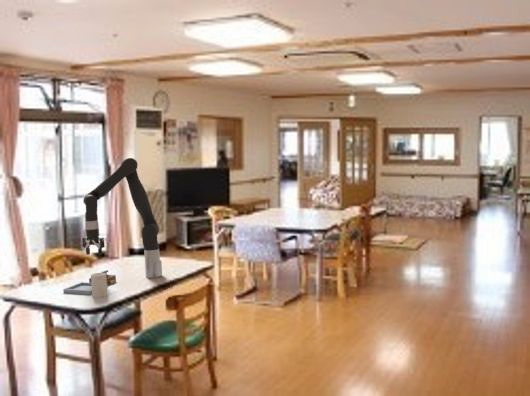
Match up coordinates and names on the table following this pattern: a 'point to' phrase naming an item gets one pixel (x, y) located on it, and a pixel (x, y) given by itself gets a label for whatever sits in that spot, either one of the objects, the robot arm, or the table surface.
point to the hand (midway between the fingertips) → (94, 254)
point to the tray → (80, 288)
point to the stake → (105, 272)
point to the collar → (108, 279)
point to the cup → (99, 285)
